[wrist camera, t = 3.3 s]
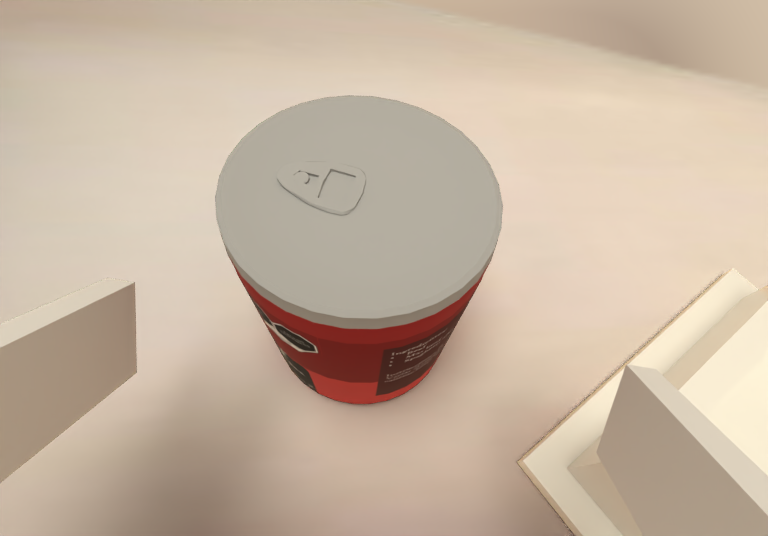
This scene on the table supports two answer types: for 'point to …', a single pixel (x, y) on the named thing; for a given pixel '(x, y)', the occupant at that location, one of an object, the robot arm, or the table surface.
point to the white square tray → (690, 377)
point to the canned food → (359, 238)
